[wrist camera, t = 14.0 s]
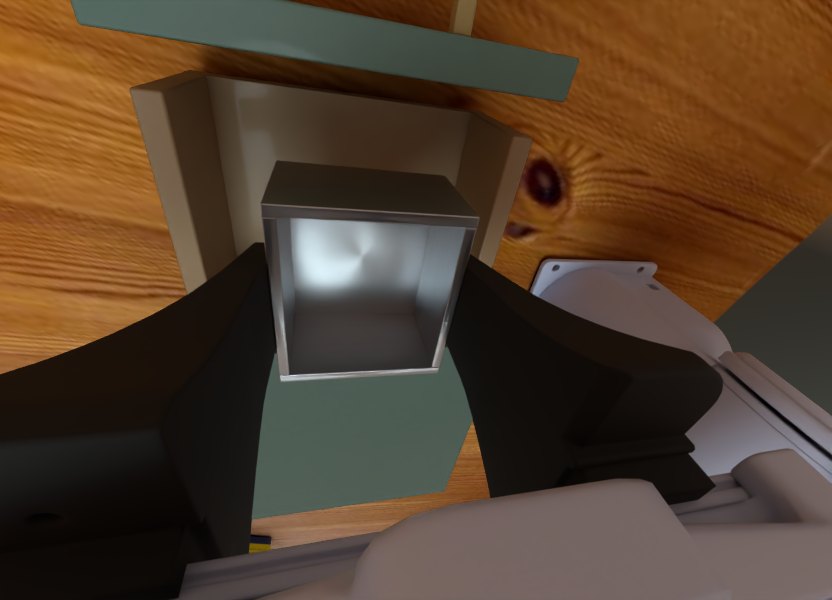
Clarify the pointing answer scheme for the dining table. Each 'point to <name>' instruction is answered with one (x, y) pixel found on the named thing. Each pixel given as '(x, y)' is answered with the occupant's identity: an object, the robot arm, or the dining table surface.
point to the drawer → (319, 114)
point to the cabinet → (358, 439)
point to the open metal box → (362, 268)
